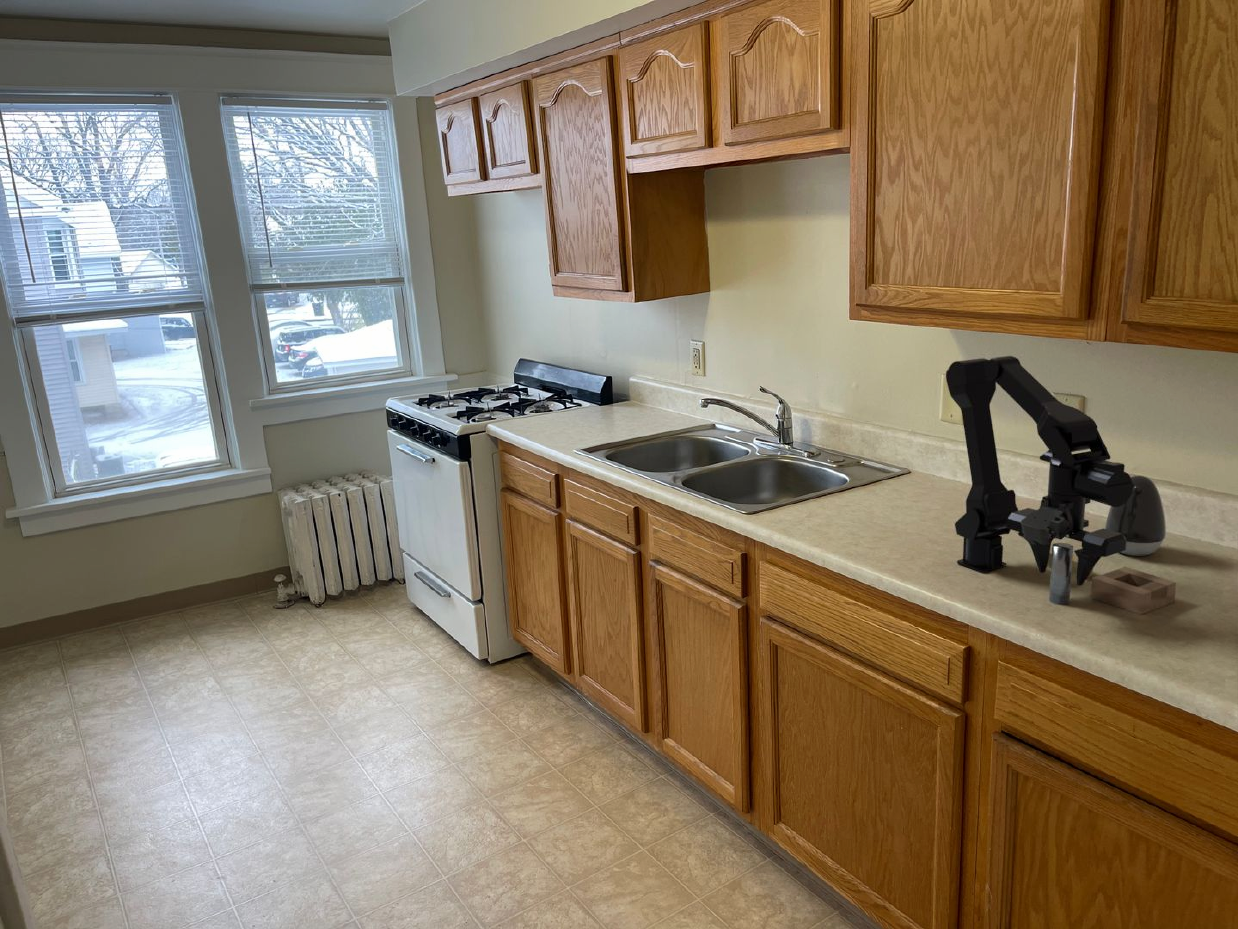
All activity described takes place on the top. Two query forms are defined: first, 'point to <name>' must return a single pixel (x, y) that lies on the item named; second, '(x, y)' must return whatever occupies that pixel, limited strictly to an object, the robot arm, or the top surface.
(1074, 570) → the square bit
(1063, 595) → the cylinder
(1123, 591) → the socket block
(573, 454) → the top surface
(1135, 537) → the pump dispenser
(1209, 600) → the top surface
